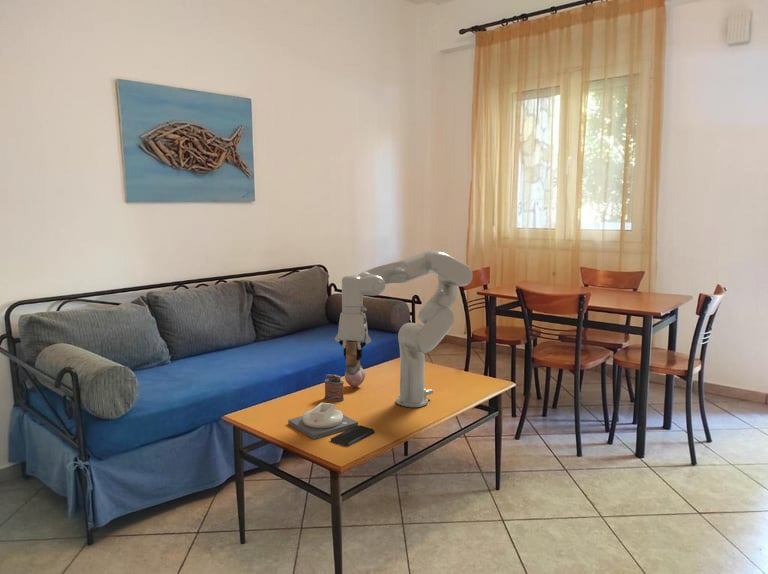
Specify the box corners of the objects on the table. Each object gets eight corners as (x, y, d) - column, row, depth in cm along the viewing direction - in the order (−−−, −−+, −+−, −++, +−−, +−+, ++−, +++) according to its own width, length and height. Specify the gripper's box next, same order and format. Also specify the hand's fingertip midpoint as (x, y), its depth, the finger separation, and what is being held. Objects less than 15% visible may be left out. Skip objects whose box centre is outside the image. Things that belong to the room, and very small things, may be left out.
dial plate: (331, 412, 205) (331, 408, 204) (357, 426, 192) (357, 421, 191) (288, 423, 194) (288, 419, 193) (313, 439, 180) (313, 434, 180)
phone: (376, 430, 187) (347, 444, 175) (376, 433, 187) (347, 448, 175) (358, 424, 191) (329, 438, 179) (358, 427, 191) (329, 442, 179)
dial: (312, 411, 201) (312, 399, 200) (348, 415, 197) (348, 403, 196) (295, 425, 188) (295, 413, 187) (334, 430, 184) (334, 417, 183)
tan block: (361, 370, 205) (361, 338, 203) (355, 375, 198) (354, 343, 197) (351, 369, 206) (350, 338, 204) (344, 374, 199) (344, 342, 198)
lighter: (345, 398, 219) (345, 374, 218) (341, 401, 216) (341, 377, 215) (326, 396, 222) (326, 372, 221) (323, 399, 219) (322, 375, 218)
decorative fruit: (351, 382, 240) (351, 360, 238) (367, 385, 236) (368, 363, 235) (340, 389, 231) (340, 366, 230) (357, 391, 228) (357, 368, 227)
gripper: (377, 309, 200) (377, 357, 203) (334, 306, 205) (335, 354, 207) (371, 312, 193) (371, 363, 196) (327, 310, 198) (327, 359, 200)
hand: (353, 358), depth 201 cm, fingers closed on tan block, 4 cm apart
